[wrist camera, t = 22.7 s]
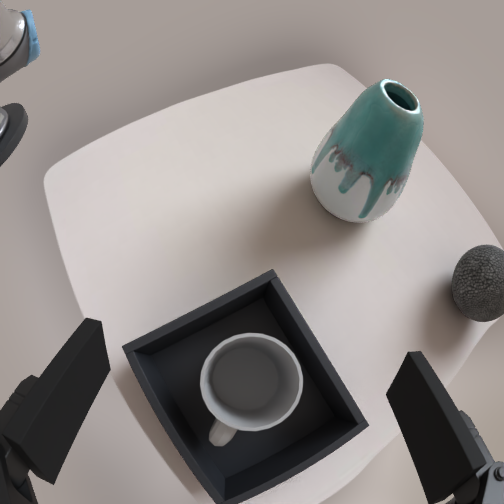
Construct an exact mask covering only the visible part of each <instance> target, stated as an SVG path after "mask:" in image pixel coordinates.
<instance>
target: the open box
mask: <svg viewBox="0 0 504 504" xmlns="http://www.w3.org/2000/svg"><path fill="white" fill-rule="evenodd" d="M245 333H259V334H264V335H268V336H271V337H274V338H276V339H277V340H279V341H280V342H282V343H284V344H285V345H286V346H287V347H288V348H289V349H290V350H291V351H292V352H293V353H294V354H295V356H296V358H297V360H298V362H299V364H300V366H301V371H302V375H303V388H302V393H301V396H300V399H299V402H298V404H297V406H296V407H295V409H294V410H293V411H292V413H291V414H290V415H289V416H288V417H287V418H286V419H284V420H283V421H282V422H281V423H279V424H277V425H275V426H273V427H271V428H268V429H263V430H259V431H243V430H239V429H237V431H236V433H235V435H234V436H233V438H232V439H231V440H230V441H229V442H228V443H227V444H225V445H224V446H214V445H213V444H212V443H211V442H210V441H209V432H210V429H211V427H212V425H213V423H214V421H215V419H216V417H215V416H214V415H213V414H212V413H211V411H210V410H209V409H208V407H207V405H206V403H205V401H204V399H203V397H202V392H201V387H200V379H201V371H202V368H203V365H204V363H205V360H206V358H207V357H208V356H209V354H210V353H211V352H212V350H213V349H214V348H215V347H216V346H218V345H219V344H220V343H221V342H223V341H224V340H226V339H228V338H231V337H233V336H235V335H239V334H245ZM122 348H123V350H124V353H125V354H126V357H127V359H128V361H129V364H130V366H131V368H132V370H133V372H134V374H135V376H136V378H137V380H138V382H139V384H140V386H141V388H142V390H143V392H144V394H145V395H146V397H147V399H148V401H149V403H150V405H151V407H152V408H153V410H154V412H155V414H156V415H157V417H158V419H159V421H160V422H161V424H162V426H163V427H164V429H165V431H166V432H167V434H168V436H169V437H170V439H171V441H172V442H173V444H174V445H175V447H176V448H177V450H178V452H179V453H180V455H181V456H182V458H183V459H184V461H185V462H186V464H187V465H188V467H189V468H190V469H191V471H192V472H193V474H194V475H195V476H196V478H197V479H198V481H199V482H200V483H201V485H202V486H203V487H204V489H205V490H206V491H207V493H208V494H209V495H210V497H211V498H212V499H213V500H214V502H215V503H216V504H238V503H241V502H243V501H245V500H248V499H250V498H252V497H254V496H256V495H258V494H260V493H262V492H264V491H266V490H268V489H270V488H272V487H274V486H276V485H278V484H280V483H282V482H284V481H286V480H288V479H289V478H291V477H293V476H295V475H296V474H298V473H300V472H302V471H303V470H305V469H307V468H308V467H310V466H312V465H313V464H315V463H317V462H318V461H320V460H321V459H323V458H324V457H326V456H327V455H329V454H331V453H332V452H334V451H335V450H336V449H338V448H339V447H341V446H342V445H344V444H345V443H347V442H348V441H349V440H351V439H352V438H353V437H355V436H356V435H358V434H359V433H360V432H362V431H363V430H364V429H365V428H367V427H368V426H369V424H368V423H367V421H366V419H365V418H364V416H363V414H362V413H361V411H360V409H359V408H358V406H357V404H356V403H355V401H354V400H353V398H352V396H351V395H350V393H349V391H348V390H347V388H346V386H345V385H344V383H343V381H342V380H341V378H340V377H339V375H338V373H337V372H336V370H335V368H334V367H333V365H332V363H331V362H330V360H329V359H328V357H327V355H326V354H325V352H324V350H323V349H322V347H321V346H320V344H319V342H318V341H317V339H316V337H315V336H314V334H313V333H312V331H311V329H310V328H309V326H308V324H307V323H306V321H305V320H304V318H303V316H302V315H301V313H300V312H299V310H298V308H297V307H296V305H295V303H294V302H293V300H292V299H291V297H290V295H289V294H288V292H287V291H286V289H285V287H284V286H283V284H282V283H281V281H280V279H279V278H278V277H277V275H276V273H275V271H274V270H273V269H271V270H270V271H268V272H266V273H264V274H262V275H260V276H258V277H256V278H255V279H253V280H251V281H249V282H247V283H245V284H243V285H241V286H239V287H238V288H236V289H234V290H232V291H230V292H228V293H226V294H224V295H222V296H220V297H218V298H216V299H215V300H213V301H211V302H209V303H207V304H205V305H203V306H201V307H199V308H197V309H195V310H193V311H191V312H189V313H187V314H185V315H183V316H181V317H179V318H177V319H175V320H173V321H172V322H170V323H168V324H166V325H164V326H162V327H160V328H158V329H156V330H154V331H152V332H150V333H148V334H146V335H144V336H142V337H139V338H137V339H135V340H133V341H131V342H129V343H127V344H125V345H123V346H122Z"/></svg>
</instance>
